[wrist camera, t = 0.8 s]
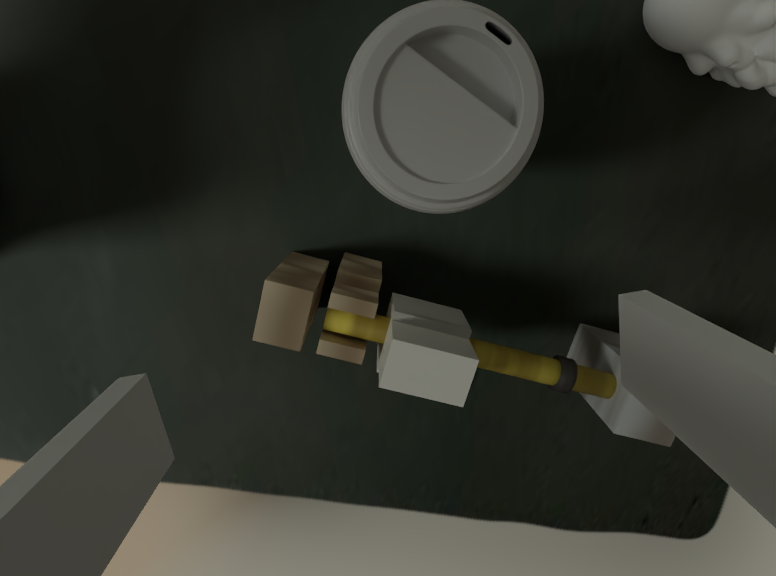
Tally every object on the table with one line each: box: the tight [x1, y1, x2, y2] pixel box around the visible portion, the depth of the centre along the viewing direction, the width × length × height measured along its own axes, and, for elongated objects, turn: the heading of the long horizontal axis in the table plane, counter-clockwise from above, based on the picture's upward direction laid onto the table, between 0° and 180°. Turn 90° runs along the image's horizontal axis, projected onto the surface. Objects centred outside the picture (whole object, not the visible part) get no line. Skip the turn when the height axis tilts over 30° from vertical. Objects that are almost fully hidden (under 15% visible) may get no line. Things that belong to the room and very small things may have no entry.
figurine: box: [643, 0, 776, 97], centre depth 31 cm, size 7×7×12 cm
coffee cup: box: [342, 0, 544, 214], centre depth 28 cm, size 10×10×15 cm
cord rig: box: [253, 252, 676, 447], centre depth 35 cm, size 28×6×10 cm, turn 75°
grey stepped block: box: [377, 293, 479, 407], centre depth 31 cm, size 5×4×7 cm
